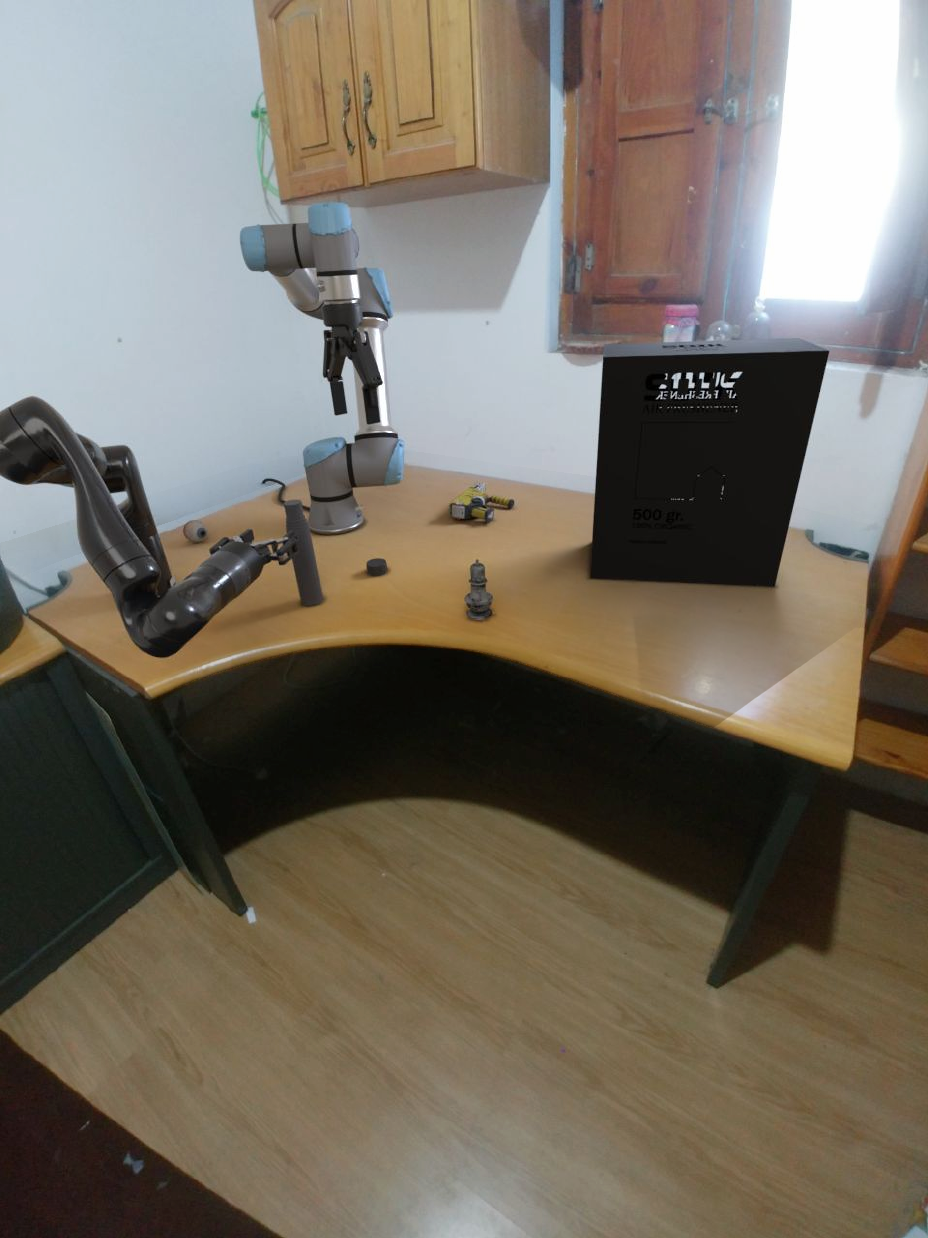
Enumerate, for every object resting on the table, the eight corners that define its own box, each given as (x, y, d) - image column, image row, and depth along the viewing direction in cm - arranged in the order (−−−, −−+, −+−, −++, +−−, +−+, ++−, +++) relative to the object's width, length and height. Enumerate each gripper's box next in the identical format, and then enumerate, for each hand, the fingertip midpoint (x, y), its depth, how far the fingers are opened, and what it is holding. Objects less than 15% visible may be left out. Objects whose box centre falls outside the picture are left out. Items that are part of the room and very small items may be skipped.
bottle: (327, 601, 130) (308, 502, 119) (306, 608, 127) (285, 508, 116) (317, 593, 133) (298, 496, 122) (297, 600, 131) (276, 502, 120)
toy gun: (522, 487, 180) (475, 480, 184) (500, 511, 160) (447, 502, 164) (521, 502, 182) (474, 495, 186) (499, 527, 162) (447, 519, 166)
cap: (363, 572, 141) (362, 563, 140) (378, 565, 144) (377, 556, 143) (376, 577, 139) (374, 568, 137) (391, 570, 142) (390, 561, 140)
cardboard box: (755, 547, 142) (798, 337, 120) (774, 586, 125) (829, 350, 102) (592, 542, 150) (603, 344, 127) (589, 578, 133) (603, 356, 110)
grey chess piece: (491, 621, 118) (489, 566, 112) (462, 620, 120) (458, 565, 114) (496, 607, 123) (494, 553, 117) (468, 605, 124) (465, 552, 118)
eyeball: (196, 547, 160) (190, 526, 157) (181, 543, 163) (175, 522, 160) (215, 539, 164) (209, 518, 161) (200, 536, 167) (194, 515, 164)
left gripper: (263, 552, 95) (304, 515, 109) (182, 550, 98) (232, 514, 111) (273, 594, 99) (312, 553, 113) (195, 591, 101) (242, 551, 115)
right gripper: (294, 303, 120) (313, 413, 131) (355, 303, 103) (371, 430, 113) (328, 300, 124) (344, 408, 135) (393, 300, 107) (405, 423, 117)
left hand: (272, 534), depth 112 cm, fingers open, 8 cm apart
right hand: (356, 418), depth 124 cm, fingers open, 13 cm apart
